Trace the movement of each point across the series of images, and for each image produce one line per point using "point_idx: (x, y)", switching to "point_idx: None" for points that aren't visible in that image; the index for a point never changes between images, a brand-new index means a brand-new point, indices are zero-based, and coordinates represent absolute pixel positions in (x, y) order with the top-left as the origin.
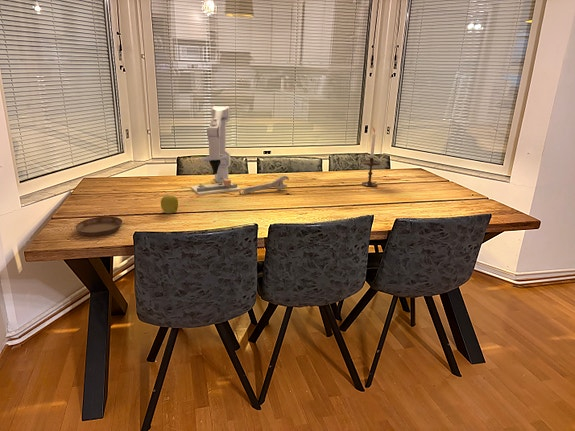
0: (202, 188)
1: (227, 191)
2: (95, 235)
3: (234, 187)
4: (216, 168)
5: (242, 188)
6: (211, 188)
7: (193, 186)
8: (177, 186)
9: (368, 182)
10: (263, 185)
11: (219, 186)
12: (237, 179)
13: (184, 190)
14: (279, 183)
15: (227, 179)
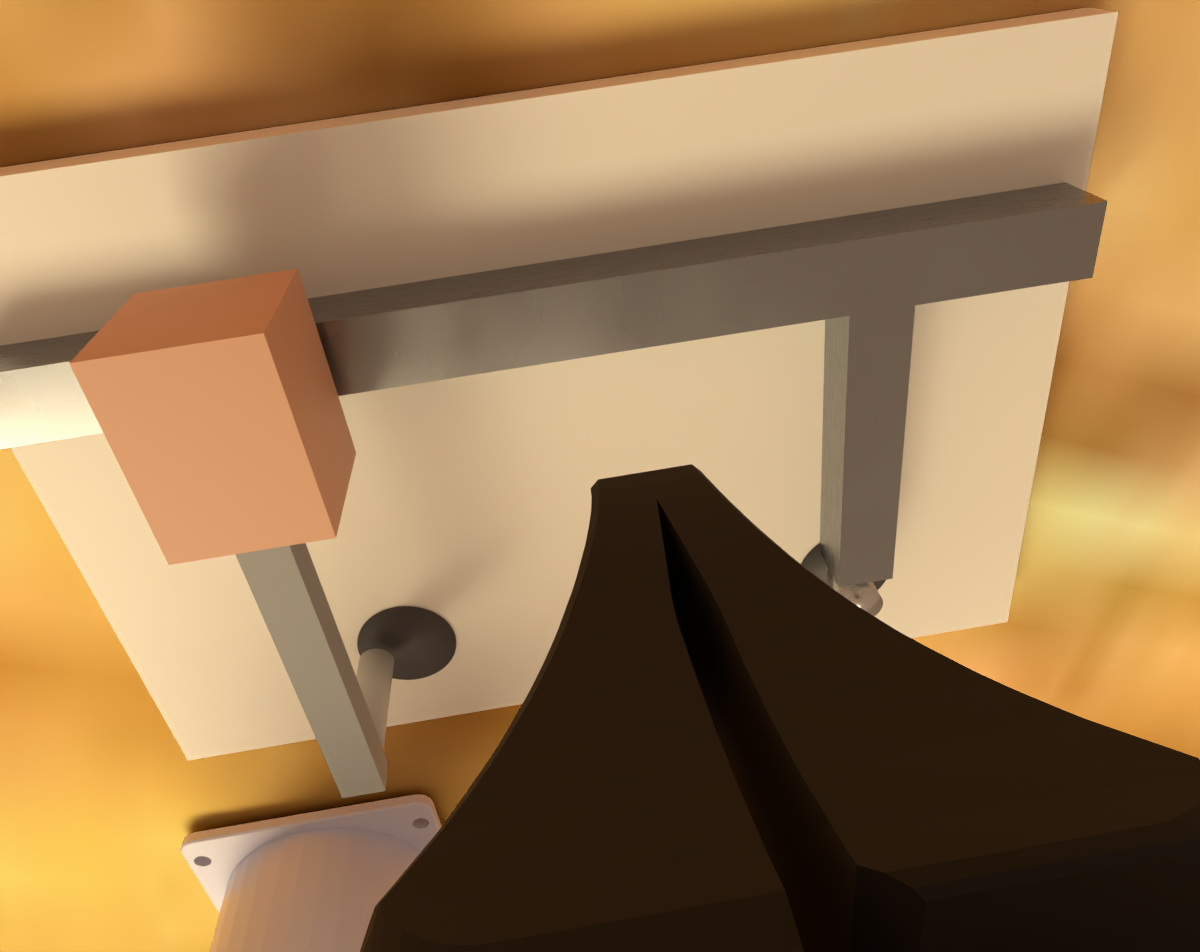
0: (971, 225)
1: (284, 127)
2: None
3: (62, 338)
4: (664, 611)
5: None
6: (716, 252)
7: (965, 593)
8: (1136, 701)
9: None
10: None
11: (486, 316)
12: (55, 928)
13: (1161, 466)
14: None
15: (198, 486)
